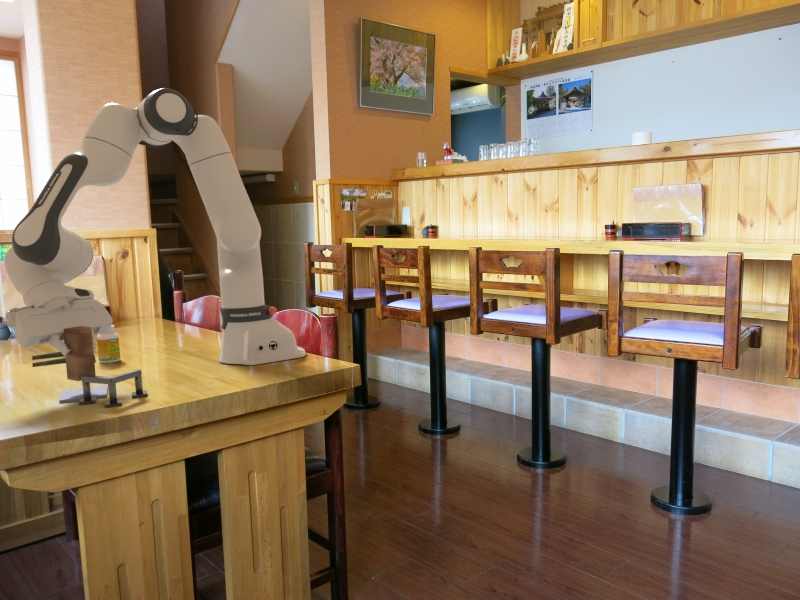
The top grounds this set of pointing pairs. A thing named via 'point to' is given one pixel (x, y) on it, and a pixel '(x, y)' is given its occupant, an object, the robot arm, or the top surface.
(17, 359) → the top surface
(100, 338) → the supplement bottle
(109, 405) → the bent rail on posts
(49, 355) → the miniature torii gate
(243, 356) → the robot arm
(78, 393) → the pad
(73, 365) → the walnut peg
